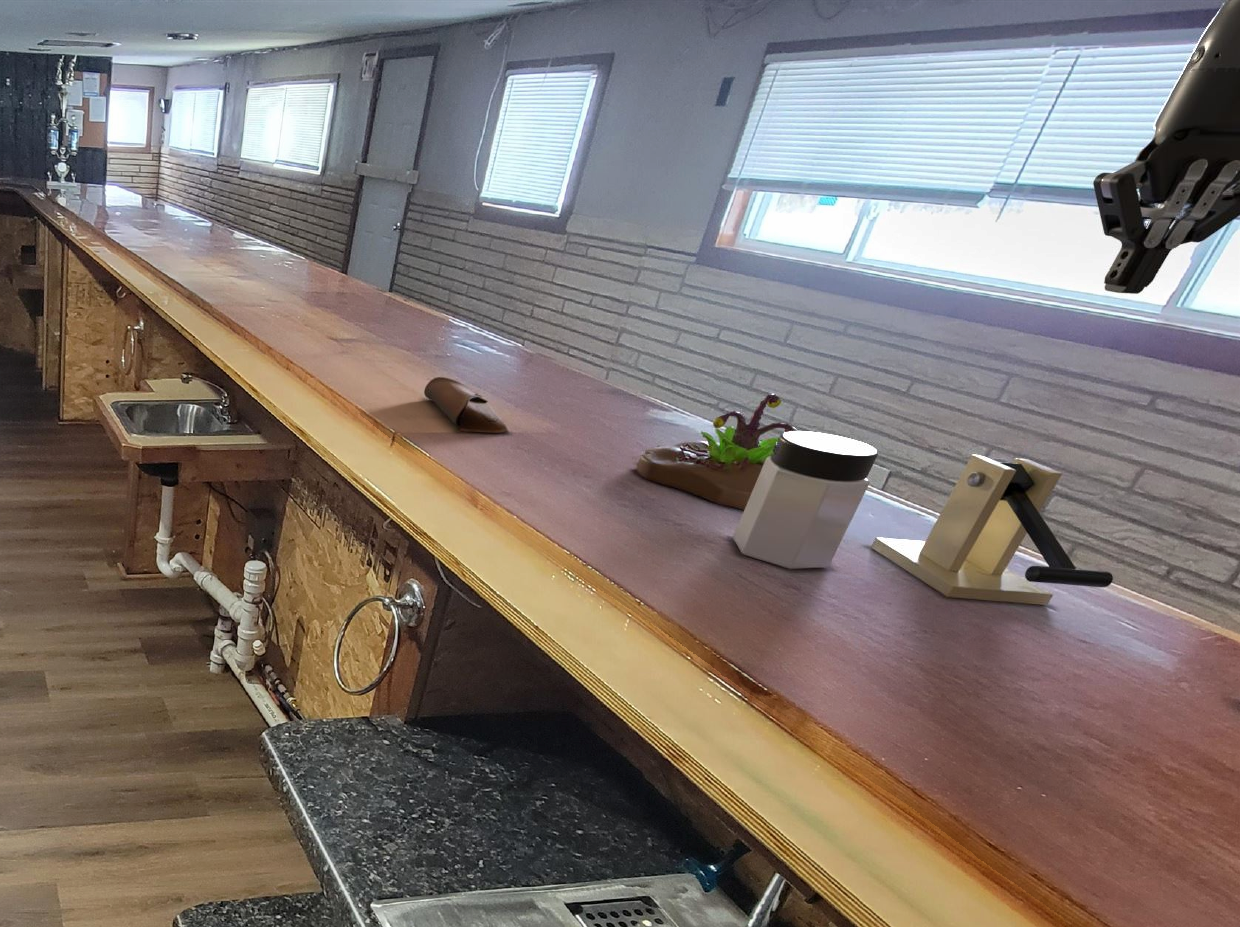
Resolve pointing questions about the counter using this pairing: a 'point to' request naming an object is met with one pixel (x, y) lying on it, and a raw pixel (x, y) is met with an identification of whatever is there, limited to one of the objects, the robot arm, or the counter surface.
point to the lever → (1046, 539)
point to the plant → (716, 459)
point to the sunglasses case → (464, 406)
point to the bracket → (976, 537)
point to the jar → (804, 499)
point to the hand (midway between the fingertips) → (1121, 292)
